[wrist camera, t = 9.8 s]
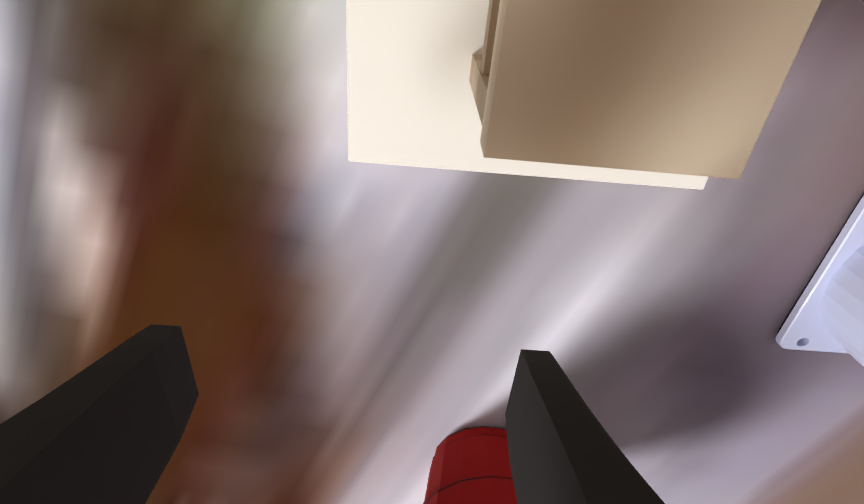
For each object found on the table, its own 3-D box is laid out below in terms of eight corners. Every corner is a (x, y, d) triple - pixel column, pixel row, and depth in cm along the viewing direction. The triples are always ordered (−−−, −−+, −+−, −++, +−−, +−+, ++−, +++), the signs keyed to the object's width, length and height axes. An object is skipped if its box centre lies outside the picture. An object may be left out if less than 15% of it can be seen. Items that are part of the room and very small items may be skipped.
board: (851, -215, 12) (876, -226, 11) (692, 181, 18) (702, 189, 17) (347, -270, 12) (341, -285, 11) (351, 153, 17) (348, 161, 17)
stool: (678, -98, 13) (893, -158, 7) (621, 97, 15) (739, 179, 9) (489, -118, 12) (537, -199, 6) (465, 83, 15) (483, 157, 9)
